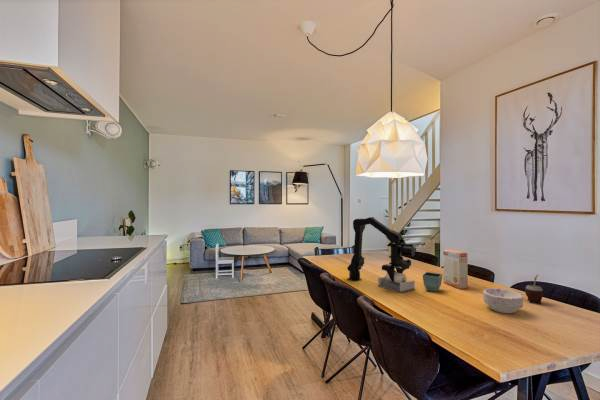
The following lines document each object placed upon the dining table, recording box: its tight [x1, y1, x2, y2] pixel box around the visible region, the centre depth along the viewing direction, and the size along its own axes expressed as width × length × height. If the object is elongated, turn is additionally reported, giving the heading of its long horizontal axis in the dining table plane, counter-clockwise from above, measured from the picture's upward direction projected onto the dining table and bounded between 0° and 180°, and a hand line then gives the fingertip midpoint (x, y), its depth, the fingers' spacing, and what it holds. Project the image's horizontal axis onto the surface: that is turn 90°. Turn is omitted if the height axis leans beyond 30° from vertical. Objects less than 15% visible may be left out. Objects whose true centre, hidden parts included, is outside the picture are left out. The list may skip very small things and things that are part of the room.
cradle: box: [377, 275, 416, 294], centre depth 173 cm, size 16×12×5 cm
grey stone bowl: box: [482, 287, 524, 314], centre depth 137 cm, size 15×15×8 cm
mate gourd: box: [524, 274, 544, 305], centre depth 147 cm, size 8×8×15 cm
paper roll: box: [385, 272, 408, 284], centre depth 173 cm, size 10×6×6 cm, turn 35°
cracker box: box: [442, 248, 469, 290], centre depth 177 cm, size 14×6×21 cm, turn 10°
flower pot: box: [422, 271, 443, 292], centre depth 168 cm, size 9×9×9 cm
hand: (395, 280), depth 173 cm, fingers closed on paper roll, 6 cm apart
